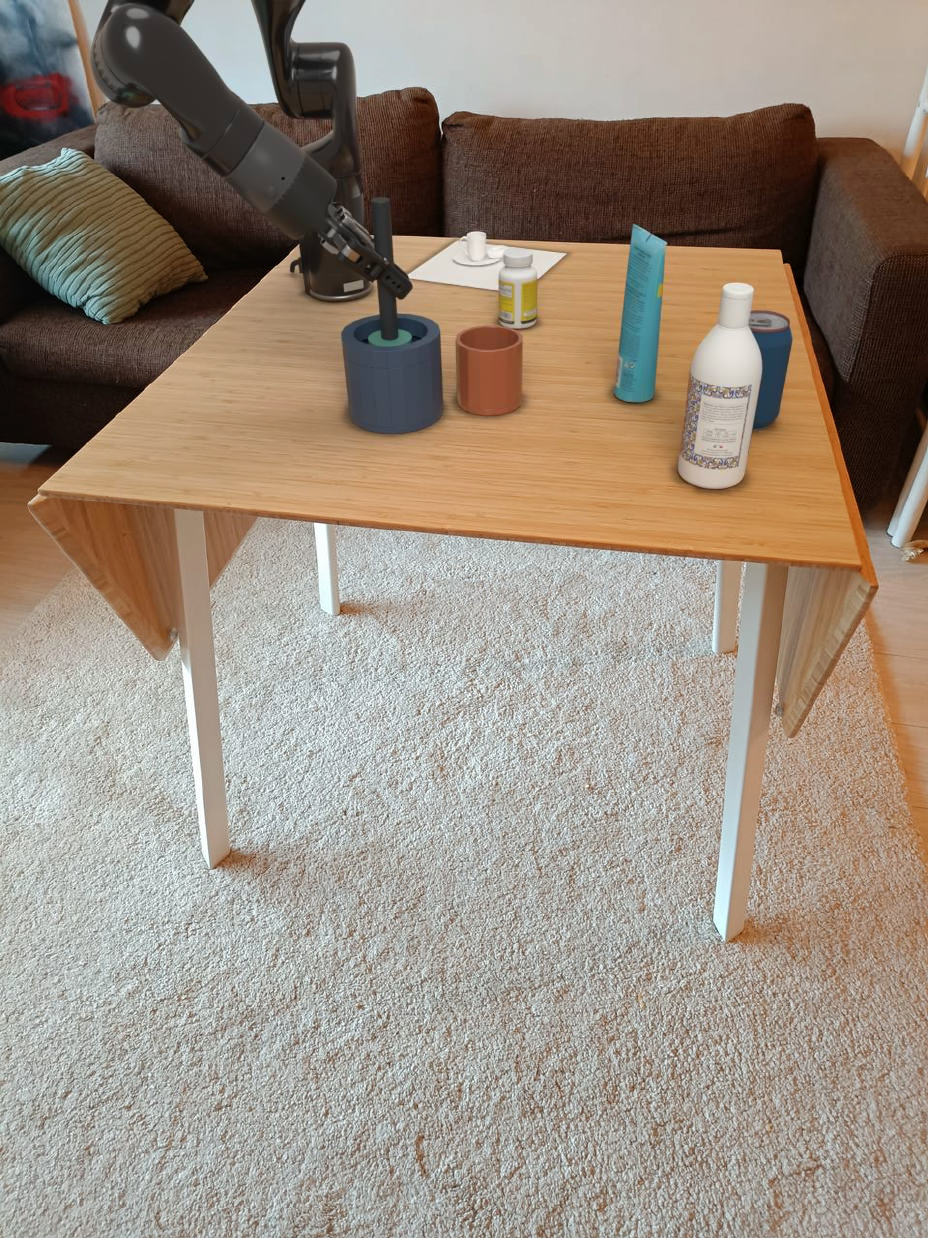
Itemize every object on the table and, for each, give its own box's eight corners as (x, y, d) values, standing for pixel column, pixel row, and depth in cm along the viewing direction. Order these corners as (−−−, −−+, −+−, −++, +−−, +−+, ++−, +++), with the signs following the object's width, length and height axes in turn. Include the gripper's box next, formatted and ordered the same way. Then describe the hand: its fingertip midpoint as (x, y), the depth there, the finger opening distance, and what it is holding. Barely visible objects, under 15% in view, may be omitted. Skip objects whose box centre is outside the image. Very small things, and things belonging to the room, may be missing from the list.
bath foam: (697, 452, 109) (723, 269, 96) (755, 471, 105) (789, 284, 93) (664, 477, 104) (686, 289, 92) (723, 498, 101) (754, 305, 89)
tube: (667, 402, 119) (686, 238, 107) (634, 410, 117) (649, 245, 105) (633, 379, 124) (647, 220, 112) (600, 387, 122) (611, 227, 110)
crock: (446, 408, 119) (443, 344, 114) (475, 382, 124) (474, 321, 119) (504, 420, 116) (504, 355, 111) (532, 394, 121) (533, 331, 116)
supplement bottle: (537, 315, 141) (539, 245, 135) (535, 330, 137) (537, 258, 131) (499, 315, 142) (499, 245, 136) (497, 329, 138) (497, 258, 132)
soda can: (775, 409, 116) (794, 309, 109) (778, 436, 111) (797, 333, 104) (715, 405, 118) (730, 306, 110) (715, 431, 112) (730, 329, 105)
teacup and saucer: (513, 255, 162) (513, 230, 160) (494, 270, 157) (494, 244, 154) (465, 249, 165) (464, 224, 163) (444, 264, 160) (443, 238, 157)
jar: (331, 422, 116) (321, 340, 110) (381, 385, 124) (374, 307, 118) (413, 441, 112) (407, 357, 106) (459, 402, 120) (457, 322, 114)
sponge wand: (362, 374, 114) (347, 202, 103) (385, 358, 118) (372, 190, 106) (399, 382, 112) (388, 208, 101) (421, 365, 116) (412, 196, 104)
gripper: (308, 167, 94) (439, 283, 103) (297, 134, 104) (417, 243, 114) (260, 229, 96) (393, 337, 106) (254, 191, 107) (375, 293, 116)
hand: (405, 288), depth 110 cm, fingers closed on sponge wand
